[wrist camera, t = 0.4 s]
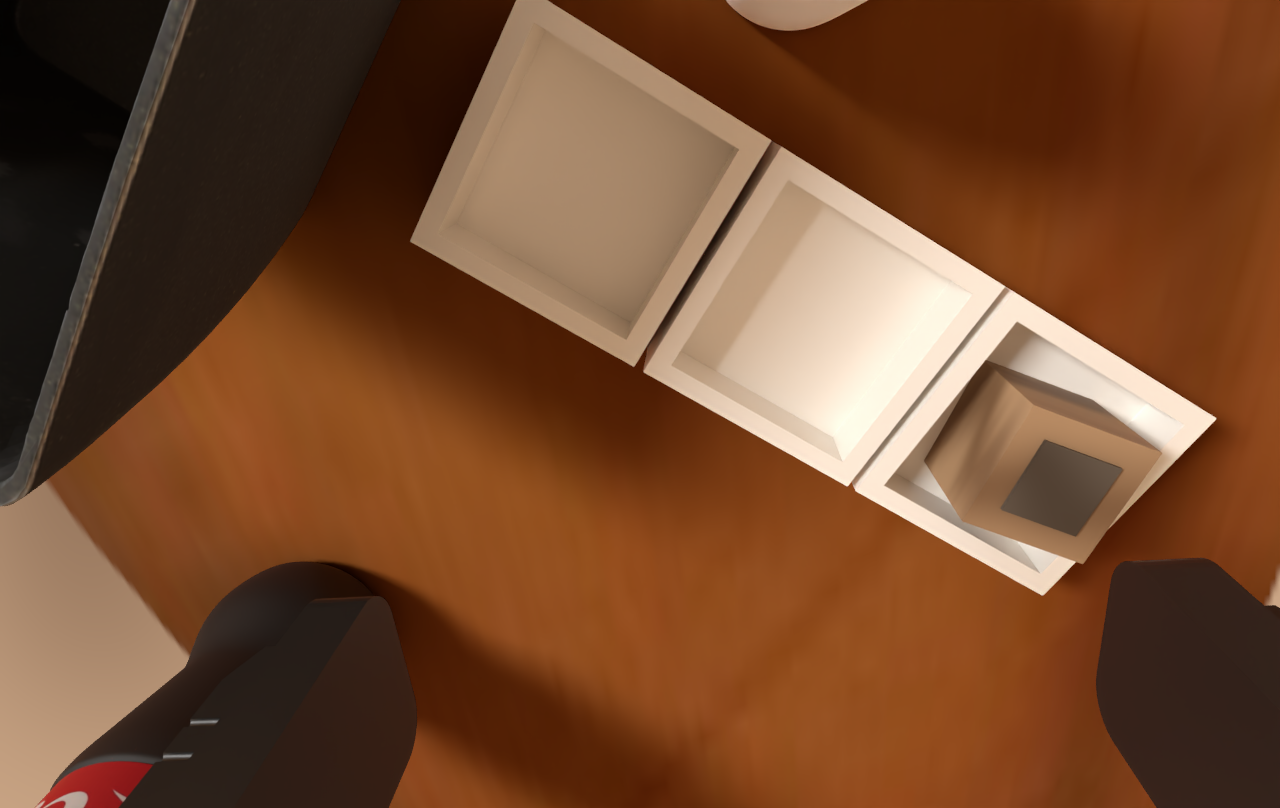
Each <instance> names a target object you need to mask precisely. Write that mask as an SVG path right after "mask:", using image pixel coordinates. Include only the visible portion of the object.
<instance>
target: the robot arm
mask: <svg viewBox="0 0 1280 808" xmlns="http://www.w3.org/2000/svg"><path fill="white" fill-rule="evenodd" d="M1096 690H1097V698H1098V704H1099V708H1100V712H1101V715H1102V718H1103V721H1104V724H1105V726H1106V729H1107V731H1108V733H1109V735H1110V737H1111V739H1112V740H1113V742H1114V744H1115V745H1116V747H1117V748H1118V750H1119V751H1120V753H1121V754H1122V756H1123V757H1124V759H1125V760H1126V762H1127V763H1128V765H1129V766H1130V768H1131V769H1132V771H1133V772H1134V774H1135V775H1136V777H1137V778H1138V780H1139V782H1140V783H1141V785H1142V786H1143V788H1144V789H1145V791H1146V792H1147V794H1148V795H1149V797H1150V798H1151V800H1152V801H1153V803H1154V804H1155V806H1156V807H1157V808H1280V608H1279V607H1277V606H1275V605H1272V606H1264V605H1263V604H1262V603H1260V602H1259V601H1258V600H1257V599H1256V598H1255V597H1254V596H1252V595H1251V594H1250V593H1249V592H1248V591H1247V590H1246V589H1244V588H1243V587H1242V586H1241V585H1240V584H1239V583H1238V582H1237V581H1235V580H1234V579H1233V578H1232V577H1231V576H1230V575H1229V574H1227V573H1226V572H1225V571H1224V570H1223V569H1222V568H1221V567H1219V566H1218V565H1217V564H1215V563H1214V562H1212V561H1210V560H1208V559H1205V558H1187V559H1166V560H1146V561H1125V562H1122V563H1120V564H1119V565H1118V566H1117V567H1116V569H1115V570H1114V573H1113V575H1112V579H1111V584H1110V590H1109V597H1108V604H1107V610H1106V617H1105V623H1104V630H1103V636H1102V643H1101V650H1100V656H1099V663H1098V669H1097V677H1096ZM190 720H191V723H190V726H189V727H183V729H182V730H181V731H180V732H179V734H178V735H177V736H176V737H175V738H174V740H173V741H172V742H171V743H170V745H169V746H168V747H167V748H166V750H165V751H164V752H163V759H162V761H161V762H155V763H154V764H153V766H152V767H151V768H150V769H149V771H148V772H147V773H146V774H145V775H144V777H143V778H142V779H141V780H140V782H139V783H138V784H137V785H136V787H135V788H134V789H133V790H132V792H131V793H130V794H129V795H128V796H127V798H126V799H125V800H124V801H123V803H122V804H121V805H120V806H119V808H389V805H390V803H391V801H392V798H393V796H394V794H395V791H396V789H397V787H398V784H399V782H400V780H401V777H402V775H403V773H404V770H405V768H406V766H407V763H408V761H409V759H410V756H411V753H412V750H413V746H414V741H415V735H416V726H417V708H416V701H415V696H414V692H413V688H412V685H411V681H410V677H409V674H408V670H407V666H406V663H405V659H404V655H403V652H402V648H401V644H400V641H399V637H398V633H397V629H396V626H395V622H394V618H393V615H392V612H391V609H390V606H389V604H388V603H387V601H386V600H385V599H384V598H383V597H380V596H367V597H347V598H326V599H315V600H313V601H311V602H310V603H308V604H307V605H306V607H305V608H304V609H303V610H302V612H301V613H300V614H299V615H298V617H297V618H296V619H295V621H294V622H293V623H292V625H291V626H290V627H289V629H288V630H287V631H286V633H285V634H284V635H283V636H282V638H281V639H280V640H279V642H278V643H277V644H276V646H266V647H264V648H263V649H262V650H260V651H259V652H258V653H256V654H255V655H254V656H252V657H251V658H250V659H249V660H247V661H246V662H245V663H243V664H242V665H241V666H239V667H238V668H237V669H235V670H234V671H233V672H231V673H230V674H229V675H228V676H226V677H225V678H224V679H222V680H221V682H220V683H219V684H218V685H217V687H216V688H215V689H214V690H213V692H212V693H211V694H210V695H209V696H208V698H207V699H206V700H205V701H204V703H203V704H202V705H201V706H200V708H199V709H198V710H197V711H196V713H195V714H194V715H193V716H192V717H191V719H190Z"/></svg>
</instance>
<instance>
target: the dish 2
mask: <svg viewBox="0 0 1280 808" xmlns="http://www.w3.org/2000/svg"><path fill="white" fill-rule="evenodd" d="M1004 288H1005V286H1004V285H1002V284H1001V283H999V282H997V281H996V280H994V279H993V278H991V277H989V276H988V275H986V274H985V273H983V272H981V271H980V270H978V269H977V268H975V267H973V266H972V265H970V264H969V263H967V262H965V261H964V260H962V259H961V258H959V257H957V256H956V255H954V254H953V253H951V252H949V251H948V250H946V249H945V248H943V247H941V246H940V245H938V244H937V243H935V242H933V241H932V240H930V239H929V238H927V237H925V236H924V235H922V234H921V233H919V232H917V231H916V230H914V229H913V228H911V227H909V226H908V225H906V224H905V223H903V222H901V221H900V220H898V219H897V218H895V217H893V216H892V215H890V214H889V213H887V212H885V211H884V210H882V209H881V208H879V207H877V206H876V205H874V204H873V203H871V202H869V201H868V200H866V199H865V198H863V197H861V196H860V195H858V194H857V193H855V192H853V191H852V190H850V189H849V188H847V187H845V186H844V185H842V184H841V183H839V182H837V181H836V180H834V179H833V178H831V177H829V176H828V175H826V174H825V173H823V172H821V171H820V170H818V169H817V168H815V167H813V166H812V165H810V164H809V163H807V162H805V161H804V160H802V159H801V158H799V157H797V156H796V155H794V154H793V153H791V152H789V151H788V150H786V149H785V148H783V147H781V146H780V145H778V144H776V143H774V142H773V141H772V143H771V144H770V146H769V148H768V149H767V151H766V153H765V154H764V156H763V158H762V159H761V161H760V163H759V164H758V166H757V168H756V169H755V171H754V172H753V174H752V176H751V177H750V179H749V181H748V182H747V184H746V186H745V187H744V189H743V191H742V192H741V194H740V196H739V197H738V199H737V200H736V202H735V204H734V205H733V207H732V209H731V210H730V212H729V214H728V215H727V217H726V219H725V220H724V222H723V224H722V225H721V227H720V228H719V230H718V232H717V233H716V235H715V237H714V238H713V240H712V242H711V243H710V245H709V247H708V248H707V250H706V251H705V253H704V255H703V256H702V258H701V260H700V261H699V263H698V265H697V266H696V268H695V270H694V271H693V273H692V275H691V276H690V278H689V279H688V281H687V283H686V284H685V286H684V288H683V289H682V291H681V293H680V294H679V296H678V298H677V299H676V301H675V303H674V304H673V306H672V307H671V309H670V311H669V312H668V314H667V316H666V317H665V319H664V321H663V322H662V324H661V326H660V327H659V329H658V331H657V332H656V334H655V335H654V337H653V339H652V340H651V342H650V344H649V345H648V348H647V353H646V359H645V364H644V370H643V372H644V373H646V374H647V375H649V376H651V377H653V378H655V379H656V380H658V381H660V382H662V383H663V384H665V385H667V386H669V387H671V388H672V389H674V390H676V391H678V392H680V393H681V394H683V395H685V396H687V397H688V398H690V399H692V400H694V401H696V402H697V403H699V404H701V405H703V406H705V407H706V408H708V409H710V410H712V411H713V412H715V413H717V414H719V415H721V416H722V417H724V418H726V419H728V420H730V421H731V422H733V423H735V424H737V425H738V426H740V427H742V428H744V429H746V430H747V431H749V432H751V433H753V434H755V435H756V436H758V437H760V438H762V439H763V440H765V441H767V442H769V443H771V444H772V445H774V446H776V447H778V448H780V449H781V450H783V451H785V452H787V453H788V454H790V455H792V456H794V457H796V458H797V459H799V460H801V461H803V462H805V463H806V464H808V465H810V466H812V467H814V468H815V469H817V470H819V471H821V472H822V473H824V474H826V475H828V476H830V477H831V478H833V479H835V480H837V481H839V482H840V483H842V484H844V485H846V486H847V487H848V485H849V484H850V483H851V481H852V480H853V479H854V478H855V476H856V475H857V474H858V473H859V471H860V470H861V469H862V468H863V466H864V465H865V464H866V462H867V461H868V460H869V459H870V457H871V456H872V455H873V454H874V452H875V451H876V450H877V449H878V447H879V446H880V445H881V443H882V442H883V441H884V440H885V438H886V437H887V436H888V435H889V433H890V432H891V431H892V430H893V428H894V427H895V426H896V424H897V423H898V422H899V421H900V419H901V418H902V417H903V416H904V414H905V413H906V412H907V411H908V409H909V408H910V407H911V405H912V404H913V403H914V402H915V400H916V399H917V398H918V397H919V395H920V394H921V393H922V392H923V390H924V389H925V388H926V386H927V385H928V384H929V383H930V381H931V380H932V379H933V378H934V376H935V375H936V374H937V373H938V371H939V370H940V369H941V367H942V366H943V365H944V364H945V362H946V361H947V360H948V359H949V357H950V356H951V355H952V354H953V352H954V351H955V350H956V348H957V347H958V346H959V345H960V343H961V342H962V341H963V340H964V338H965V337H966V336H967V335H968V333H969V332H970V331H971V329H972V328H973V327H974V326H975V324H976V323H977V322H978V321H979V319H980V318H981V317H982V316H983V314H984V313H985V312H986V310H987V309H988V308H989V307H990V305H991V304H992V303H993V302H994V300H995V299H996V298H997V297H998V295H999V294H1000V293H1001V291H1002V290H1003V289H1004Z"/></svg>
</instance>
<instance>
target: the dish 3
mask: <svg viewBox="0 0 1280 808" xmlns="http://www.w3.org/2000/svg"><path fill="white" fill-rule="evenodd" d="M985 360H988V361H990V362H993V363H996V364H998V365H1001V366H1004V367H1006V368H1009V369H1012V370H1014V371H1017V372H1020V373H1022V374H1025V375H1028V376H1031V377H1033V378H1036V379H1039V380H1041V381H1044V382H1047V383H1049V384H1052V385H1055V386H1057V387H1060V388H1063V389H1065V390H1068V391H1071V392H1073V393H1076V394H1079V395H1081V396H1084V397H1087V398H1089V399H1092V400H1094V401H1095V402H1096V403H1098V404H1099V405H1100V406H1102V407H1103V408H1104V409H1105V410H1107V411H1108V412H1109V413H1111V414H1112V415H1113V416H1115V417H1116V418H1117V419H1119V420H1120V421H1121V422H1123V423H1124V424H1125V425H1126V426H1128V427H1129V428H1130V429H1132V430H1133V431H1134V432H1136V433H1137V434H1138V435H1140V436H1141V437H1142V438H1144V439H1145V440H1146V441H1147V442H1149V443H1150V444H1151V445H1153V446H1154V447H1155V448H1157V449H1158V450H1159V451H1161V452H1162V454H1161V456H1160V457H1159V459H1158V460H1157V461H1156V463H1155V464H1154V466H1153V467H1152V468H1151V470H1150V471H1149V473H1148V474H1147V475H1146V477H1145V478H1144V480H1143V481H1142V482H1141V484H1140V485H1139V487H1138V488H1137V489H1136V491H1135V492H1134V494H1133V495H1132V496H1131V498H1130V499H1129V501H1128V502H1127V503H1126V505H1125V506H1124V508H1123V509H1122V510H1121V512H1120V513H1119V515H1118V516H1117V517H1116V519H1115V520H1114V522H1113V523H1112V524H1111V526H1112V525H1113V524H1114V523H1115V522H1116V521H1117V520H1118V519H1119V518H1120V517H1121V516H1122V515H1123V514H1124V513H1125V512H1126V511H1127V510H1128V509H1129V508H1130V507H1131V506H1132V505H1133V504H1134V503H1135V501H1136V500H1137V499H1138V498H1139V497H1140V496H1141V495H1142V494H1143V493H1144V492H1145V491H1146V490H1147V489H1148V488H1149V487H1150V486H1151V485H1152V484H1153V483H1154V482H1155V481H1156V480H1157V479H1158V478H1159V477H1160V476H1161V475H1162V474H1163V473H1164V472H1165V471H1166V470H1167V469H1168V468H1169V467H1170V466H1171V465H1172V464H1173V463H1174V462H1175V461H1176V460H1177V459H1178V458H1179V457H1180V456H1181V455H1182V454H1183V453H1184V452H1185V451H1186V450H1187V449H1188V448H1189V447H1190V446H1191V445H1192V443H1193V442H1194V441H1195V440H1196V439H1197V438H1198V437H1199V436H1200V435H1201V434H1202V433H1203V432H1204V431H1205V430H1206V429H1207V428H1208V427H1209V426H1210V425H1211V424H1212V423H1213V422H1214V421H1215V420H1216V419H1217V418H1215V417H1213V416H1212V415H1210V414H1209V413H1207V412H1205V411H1204V410H1202V409H1201V408H1199V407H1197V406H1196V405H1194V404H1193V403H1191V402H1189V401H1188V400H1186V399H1185V398H1183V397H1181V396H1180V395H1178V394H1177V393H1175V392H1173V391H1172V390H1170V389H1169V388H1167V387H1165V386H1164V385H1162V384H1161V383H1159V382H1157V381H1156V380H1154V379H1153V378H1151V377H1149V376H1148V375H1146V374H1145V373H1143V372H1141V371H1140V370H1138V369H1137V368H1135V367H1133V366H1132V365H1130V364H1129V363H1127V362H1125V361H1124V360H1122V359H1121V358H1119V357H1117V356H1116V355H1114V354H1113V353H1111V352H1109V351H1108V350H1106V349H1105V348H1103V347H1101V346H1100V345H1098V344H1097V343H1095V342H1093V341H1092V340H1090V339H1089V338H1087V337H1085V336H1084V335H1082V334H1081V333H1079V332H1077V331H1076V330H1074V329H1073V328H1071V327H1069V326H1068V325H1066V324H1065V323H1063V322H1061V321H1060V320H1058V319H1057V318H1055V317H1053V316H1052V315H1050V314H1049V313H1047V312H1045V311H1044V310H1042V309H1041V308H1039V307H1037V306H1036V305H1034V304H1033V303H1031V302H1029V301H1028V300H1026V299H1025V298H1023V297H1021V296H1020V295H1018V294H1017V293H1015V292H1013V291H1012V290H1010V289H1009V288H1007V287H1005V288H1004V289H1003V290H1002V291H1001V293H1000V294H999V295H998V297H997V298H996V299H995V300H994V302H993V303H992V304H991V305H990V307H989V308H988V309H987V310H986V312H985V313H984V314H983V316H982V317H981V318H980V319H979V321H978V322H977V323H976V324H975V326H974V327H973V328H972V329H971V331H970V332H969V333H968V335H967V336H966V337H965V338H964V340H963V341H962V342H961V343H960V345H959V346H958V347H957V348H956V350H955V351H954V352H953V354H952V355H951V356H950V357H949V359H948V360H947V361H946V362H945V364H944V365H943V366H942V367H941V369H940V370H939V371H938V373H937V374H936V375H935V376H934V378H933V379H932V380H931V381H930V383H929V384H928V385H927V386H926V388H925V389H924V390H923V392H922V393H921V394H920V395H919V397H918V398H917V399H916V400H915V402H914V403H913V404H912V405H911V407H910V408H909V409H908V411H907V412H906V413H905V414H904V416H903V417H902V418H901V419H900V421H899V422H898V423H897V424H896V426H895V427H894V428H893V430H892V431H891V432H890V433H889V435H888V436H887V437H886V438H885V440H884V441H883V442H882V443H881V445H880V446H879V447H878V449H877V450H876V451H875V452H874V454H873V455H872V456H871V457H870V459H869V460H868V461H867V462H866V464H865V465H864V466H863V468H862V469H861V470H860V471H859V473H858V474H857V475H856V476H855V478H854V479H853V480H852V483H853V486H854V488H855V491H856V492H858V493H860V494H862V495H864V496H865V497H867V498H869V499H871V500H872V501H874V502H876V503H878V504H880V505H881V506H883V507H885V508H887V509H889V510H890V511H892V512H894V513H896V514H897V515H899V516H901V517H903V518H905V519H906V520H908V521H910V522H912V523H914V524H915V525H917V526H919V527H921V528H922V529H924V530H926V531H928V532H930V533H931V534H933V535H935V536H937V537H939V538H940V539H942V540H944V541H946V542H947V543H949V544H951V545H953V546H955V547H956V548H958V549H960V550H962V551H964V552H965V553H967V554H969V555H971V556H972V557H974V558H976V559H978V560H980V561H981V562H983V563H985V564H987V565H989V566H990V567H992V568H994V569H996V570H997V571H999V572H1001V573H1003V574H1005V575H1006V576H1008V577H1010V578H1012V579H1014V580H1015V581H1017V582H1019V583H1021V584H1022V585H1024V586H1026V587H1028V588H1030V589H1031V590H1033V591H1035V592H1037V593H1039V594H1040V595H1042V596H1043V595H1044V594H1045V593H1046V592H1047V591H1048V590H1049V589H1050V588H1051V587H1052V586H1053V585H1054V584H1055V583H1056V582H1057V581H1058V580H1059V579H1060V578H1061V577H1062V576H1063V575H1064V574H1065V573H1066V572H1067V571H1068V570H1069V569H1070V568H1071V567H1072V566H1073V565H1074V564H1075V563H1076V562H1075V561H1072V560H1069V559H1066V558H1064V557H1061V556H1058V555H1055V554H1052V553H1050V552H1047V551H1044V550H1041V549H1038V548H1036V547H1033V546H1030V545H1027V544H1024V543H1022V542H1019V541H1016V540H1013V539H1010V538H1007V537H1005V536H1002V535H999V534H996V533H993V532H991V531H988V530H985V529H982V528H979V527H977V526H974V525H971V524H968V523H965V522H963V521H962V520H961V519H960V517H959V516H958V514H957V513H956V511H955V509H954V508H953V506H952V505H951V503H950V501H949V500H948V498H947V497H946V495H945V494H944V492H943V490H942V489H941V487H940V486H939V484H938V482H937V481H936V479H935V478H934V476H933V475H932V473H931V471H930V470H929V468H928V467H927V465H926V463H925V462H924V460H925V458H926V456H927V455H928V453H929V451H930V449H931V448H932V446H933V444H934V442H935V441H936V439H937V437H938V435H939V434H940V432H941V430H942V428H943V427H944V425H945V423H946V421H947V420H948V418H949V416H950V415H951V413H952V411H953V409H954V408H955V406H956V404H957V402H958V401H959V399H960V397H961V395H962V394H963V392H964V390H965V388H966V387H967V385H968V383H969V381H970V380H971V378H972V376H973V375H974V374H975V373H976V371H977V370H978V369H979V368H980V366H981V365H982V364H983V363H984V361H985ZM1111 526H1110V527H1111ZM1110 527H1109V528H1110Z"/></svg>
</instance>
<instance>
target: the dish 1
mask: <svg viewBox="0 0 1280 808" xmlns="http://www.w3.org/2000/svg"><path fill="white" fill-rule="evenodd" d="M771 141H772V140H770V139H769V138H767V137H765V136H764V135H762V134H761V133H759V132H757V131H756V130H754V129H753V128H751V127H749V126H748V125H746V124H745V123H743V122H741V121H740V120H738V119H737V118H735V117H733V116H732V115H730V114H729V113H727V112H725V111H724V110H722V109H721V108H719V107H717V106H716V105H714V104H713V103H711V102H709V101H708V100H706V99H705V98H703V97H701V96H700V95H698V94H697V93H695V92H693V91H692V90H690V89H689V88H687V87H685V86H684V85H682V84H681V83H679V82H677V81H676V80H674V79H673V78H671V77H669V76H668V75H666V74H665V73H663V72H661V71H660V70H658V69H657V68H655V67H653V66H652V65H650V64H649V63H647V62H645V61H644V60H642V59H641V58H639V57H637V56H636V55H634V54H632V53H631V52H629V51H628V50H626V49H624V48H623V47H621V46H620V45H618V44H616V43H615V42H613V41H612V40H610V39H608V38H607V37H605V36H604V35H602V34H600V33H599V32H597V31H596V30H594V29H592V28H591V27H589V26H588V25H586V24H584V23H583V22H581V21H580V20H578V19H576V18H575V17H573V16H572V15H570V14H568V13H567V12H565V11H564V10H562V9H560V8H559V7H557V6H556V5H554V4H552V3H551V2H549V1H548V0H516V2H515V4H514V6H513V9H512V11H511V13H510V15H509V18H508V20H507V22H506V24H505V27H504V29H503V31H502V33H501V36H500V38H499V40H498V43H497V45H496V47H495V49H494V52H493V54H492V56H491V58H490V61H489V63H488V65H487V68H486V70H485V72H484V74H483V77H482V79H481V81H480V83H479V86H478V88H477V90H476V92H475V95H474V97H473V99H472V102H471V104H470V106H469V108H468V111H467V113H466V115H465V117H464V120H463V122H462V124H461V126H460V129H459V131H458V133H457V136H456V138H455V140H454V142H453V145H452V147H451V149H450V151H449V154H448V156H447V158H446V161H445V163H444V165H443V167H442V170H441V172H440V174H439V176H438V179H437V181H436V183H435V185H434V188H433V190H432V192H431V195H430V197H429V199H428V201H427V204H426V206H425V208H424V210H423V213H422V215H421V217H420V219H419V222H418V224H417V226H416V229H415V231H414V233H413V235H412V238H411V240H410V242H412V243H413V244H415V245H417V246H419V247H421V248H422V249H424V250H426V251H428V252H429V253H431V254H433V255H435V256H437V257H438V258H440V259H442V260H444V261H446V262H447V263H449V264H451V265H453V266H454V267H456V268H458V269H460V270H462V271H463V272H465V273H467V274H469V275H471V276H472V277H474V278H476V279H478V280H479V281H481V282H483V283H485V284H487V285H488V286H490V287H492V288H494V289H496V290H497V291H499V292H501V293H503V294H504V295H506V296H508V297H510V298H512V299H513V300H515V301H517V302H519V303H521V304H522V305H524V306H526V307H528V308H529V309H531V310H533V311H535V312H537V313H538V314H540V315H542V316H544V317H546V318H547V319H549V320H551V321H553V322H555V323H556V324H558V325H560V326H562V327H563V328H565V329H567V330H569V331H571V332H572V333H574V334H576V335H578V336H580V337H581V338H583V339H585V340H587V341H588V342H590V343H592V344H594V345H596V346H597V347H599V348H601V349H603V350H605V351H606V352H608V353H610V354H612V355H613V356H615V357H617V358H619V359H621V360H622V361H624V362H626V363H628V364H630V365H631V366H633V367H634V366H635V365H636V363H637V362H638V360H639V358H640V357H641V355H642V353H643V352H644V350H645V348H646V347H647V345H648V343H649V342H650V340H651V338H652V337H653V335H654V334H655V332H656V330H657V329H658V327H659V325H660V324H661V322H662V320H663V319H664V317H665V315H666V314H667V312H668V310H669V309H670V307H671V306H672V304H673V302H674V301H675V299H676V297H677V296H678V294H679V292H680V291H681V289H682V287H683V286H684V284H685V282H686V281H687V279H688V277H689V276H690V274H691V273H692V271H693V269H694V268H695V266H696V264H697V263H698V261H699V259H700V258H701V256H702V254H703V253H704V251H705V249H706V248H707V246H708V245H709V243H710V241H711V240H712V238H713V236H714V235H715V233H716V231H717V230H718V228H719V226H720V225H721V223H722V221H723V220H724V218H725V217H726V215H727V213H728V212H729V210H730V208H731V207H732V205H733V203H734V202H735V200H736V198H737V197H738V195H739V193H740V192H741V190H742V189H743V187H744V185H745V184H746V182H747V180H748V179H749V177H750V175H751V174H752V172H753V170H754V169H755V167H756V165H757V164H758V162H759V160H760V159H761V157H762V156H763V154H764V152H765V151H766V149H767V147H768V146H769V144H770V142H771Z"/></svg>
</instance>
